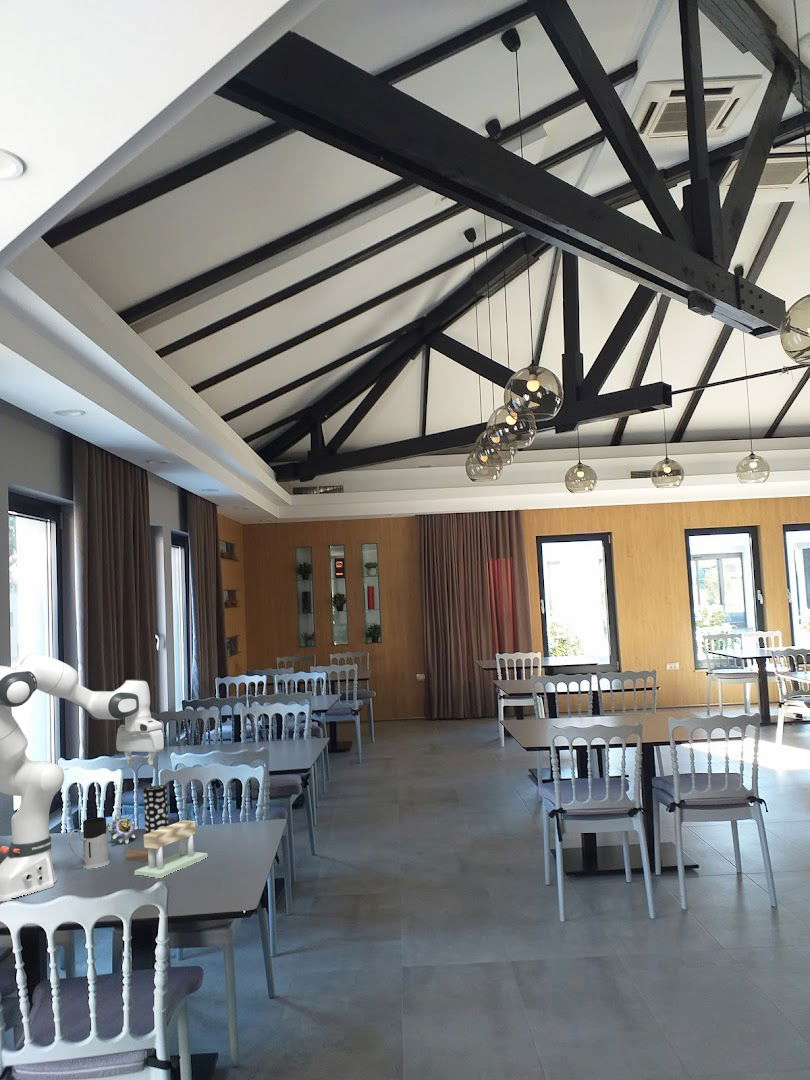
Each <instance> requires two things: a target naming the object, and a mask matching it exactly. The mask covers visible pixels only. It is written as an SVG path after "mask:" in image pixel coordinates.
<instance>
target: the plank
mask: <svg viewBox="0 0 810 1080" xmlns="http://www.w3.org/2000/svg"><path fill="white" fill-rule="evenodd" d="M196 828H197V827H196V820H185V819H183V820H181V821H177V822H175V823H171V824H169V826H166V827H164V828H161V829H158V830H155V831H153V832H150V833H147V834H143V848H144V849H148V848H154V850H156V849H157V848H160V847H162V848H163V847H164V846H167V845H170V844H172V843H175V842H179V840H180V839H183V838H185V839H186V838H187V837H188V836H190V835H193V836H194V835H195V834H197V829H196Z"/></svg>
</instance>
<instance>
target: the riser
mask: <svg viewBox="0 0 810 1080" xmlns="http://www.w3.org/2000/svg"><path fill="white" fill-rule="evenodd" d="M125 856H126V860H131V861H137V860H143V861H142V862H145V861H148V848H137V847H132V848H129V849H126V850H125ZM148 862H149V861H148Z"/></svg>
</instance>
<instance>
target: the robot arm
mask: <svg viewBox="0 0 810 1080" xmlns="http://www.w3.org/2000/svg"><path fill="white" fill-rule="evenodd" d="M78 673H79V672H78V671H77V670H76V669H75V668H74V667H73V666H71V665H69V664H68V663H65V662H63V661H61V660H59V659H57V658H54V657H52V656H49V655H44V654H42V653H36V652H35V653H29V654H28V655H27V656H25V657H24V658H23V659H22V660H21V661H20V664H19V665H18V666H17V667H14V668H13V667H11V666H7V665H5V664H0V793H2V794H5V795H6V796H7V795H8V796H12V797H13V796H15V797H16V796H17V797H21V802H20V805H19V808H18V810H17V811H16V812H15V813H13V814H12V816H11V821H10V823H11V824H10V825H11V842H10V844H9V846H6V845H2V846H0V853H1V854H6V857H5V858H4V859H3V860H2V862H1V863H0V902H9V901H13V900H14V899H11V898H16V897H19V896H22V897H24V896H23V895H25V896H28V895H31V893H32V894H33V893H34V892H35V893H37V891H38V892H41V891H44V890H46V889H50V888H53V887H55V883H56V882H57V881H58V878H57V876H56V873H55V870H54V866H53V860H52V853H51V851H52V837H51V835H50V811H51V805H52V802H53V799H54V797H55V796H56V794H57V793H58V792H59V791H60V790H61V788H62V786H63V785H64V781H65V772H64V770H63V768H62V767H61V766H60V765H59V764H56V763H54V762H50V761H46V760H31V759H29V758H28V757H27V754H26V750H27V748H28V745H29V741H28V738H27V737H26V735H25V733H24V732H23V730H22V728H21V727H20V725H19V723H18V722H17V721H16V719H15V717H14V716H13V713H12V709H11V708H16V707H21V706H22V705H24V704H26V703H27V702H28V701H29V699H30V698H31V697H32V695H33V694H34V693H35V691H37V690H39V691H40V692H42V693H44V694H47V695H50V696H52V697H56V698H60V699H61V698H62V699H64V700H67V701H68V702H71V703H73V705H76V706H78V707H80V708H81V709H82V710H83V711H84V712H85V713H86V714H87V715H88V716H89V717H90V719H93V720H95V721H100V720H122V719H124V722H125V724H120V726H119V727H118V728H117V733H116V740H115V741H116V746H115V747H116V750H117V752H124V756H125V759H126V760H127V761H126V762H127V765H134V764H135V758H133V756H132V753H135V752H137V753H148V754H147V755H148V756H149V757H148V759H146V765H147V766H152V765H154V759H155V757H156V753H158V752H162V751H163V750H164V746H165V742H164V741H165V740H164V733H163V730H162V729H163V722H161V721H158V720H156V719H155V718H152V713H151V710H150V706H151V694H150V693H151V692H150V687H149V684H148V682H147V681H146V680H144V679H134V678H133V679H125V681H124V683H123V684H122V685H121V686H120V687H118V688H116V689H115V690H112V691H109V690H108V691H107V690H106V691H105V690H91V689H89V688H87V687H85V686H83V685H81V684H80V683H79V674H78ZM35 893H34V894H35ZM27 894H28V895H27ZM19 898H20V897H19ZM16 899H17V898H16Z"/></svg>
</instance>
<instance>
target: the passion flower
mask: <svg viewBox="0 0 810 1080" xmlns="http://www.w3.org/2000/svg"><path fill="white" fill-rule="evenodd" d="M106 826H107V832H109V833H110V834H111V837H110V839H111V840H113V842H114V841H116V840H115V839H117V842H118V844H122V843H123V844H124V845H128V844H129V843H130V841H129V840H130V839H131V838H132V839H135V838H136V836H137V834H136V830H137V829H138V828H139V826H136V825H135V821H131V819H130V818H129V817H128V816H125V817H124V818H122V817H119V815H115V818H114V821H112V822H110V823H109V822H108V823H106Z"/></svg>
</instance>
